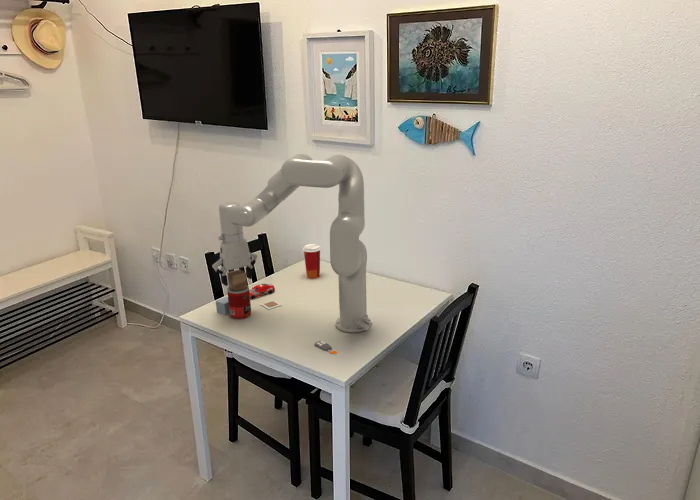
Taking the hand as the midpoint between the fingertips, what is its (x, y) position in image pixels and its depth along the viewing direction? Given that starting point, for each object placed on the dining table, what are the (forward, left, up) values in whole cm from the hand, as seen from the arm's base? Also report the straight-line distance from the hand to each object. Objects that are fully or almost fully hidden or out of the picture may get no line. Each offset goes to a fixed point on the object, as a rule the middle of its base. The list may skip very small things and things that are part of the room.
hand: (237, 281), depth 197 cm
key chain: (-43, -10, -14) cm, 47 cm away
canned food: (0, 0, -14) cm, 14 cm away
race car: (+12, -15, -14) cm, 24 cm away
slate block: (+6, +3, -14) cm, 15 cm away
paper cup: (+14, -42, -14) cm, 46 cm away
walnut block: (0, 0, -3) cm, 3 cm away
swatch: (0, -13, -14) cm, 19 cm away
